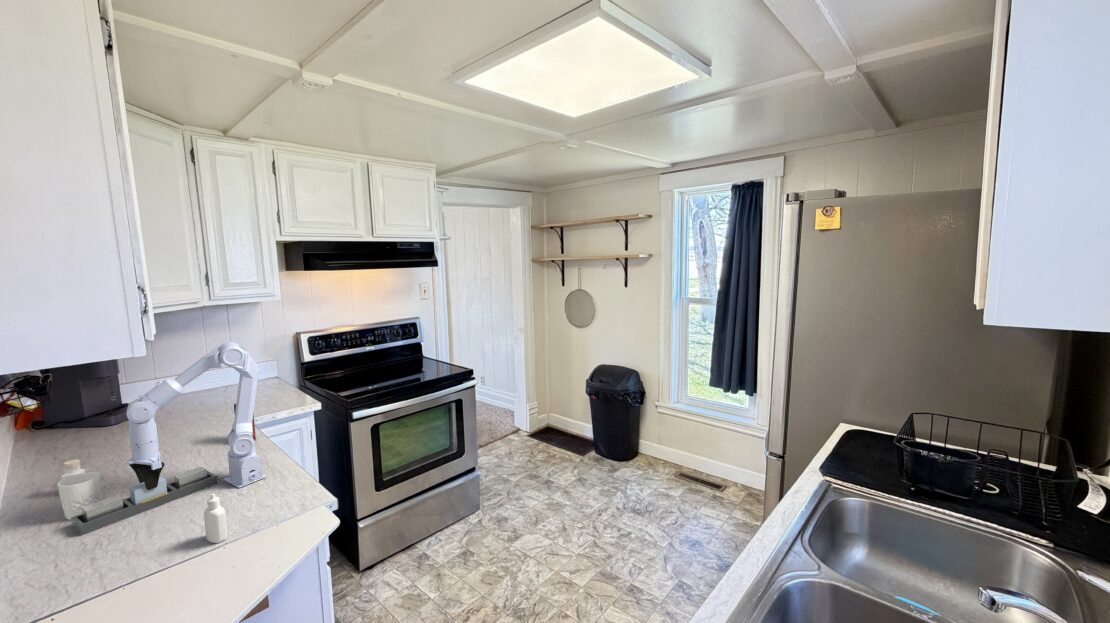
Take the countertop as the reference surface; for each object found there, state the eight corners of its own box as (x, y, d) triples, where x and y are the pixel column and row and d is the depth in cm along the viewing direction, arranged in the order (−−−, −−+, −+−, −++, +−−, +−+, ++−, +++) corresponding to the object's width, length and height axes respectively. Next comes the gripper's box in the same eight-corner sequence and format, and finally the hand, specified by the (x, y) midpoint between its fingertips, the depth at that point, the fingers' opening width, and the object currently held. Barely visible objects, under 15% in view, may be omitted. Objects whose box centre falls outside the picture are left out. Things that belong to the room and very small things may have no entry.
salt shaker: (71, 489, 135) (67, 459, 134) (88, 487, 137) (84, 457, 136) (62, 496, 132) (58, 465, 130) (80, 493, 133) (76, 463, 132)
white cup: (101, 501, 129) (97, 469, 128) (105, 511, 124) (100, 478, 123) (61, 513, 123) (56, 479, 122) (63, 524, 118) (58, 489, 117)
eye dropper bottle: (227, 529, 117) (223, 486, 115) (227, 540, 112) (223, 496, 111) (206, 535, 114) (202, 492, 113) (205, 547, 110) (201, 502, 108)
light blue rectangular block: (167, 494, 130) (165, 479, 130) (135, 505, 124) (134, 490, 124) (162, 490, 132) (160, 476, 131) (131, 501, 126) (129, 486, 125)
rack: (217, 483, 140) (216, 468, 139) (81, 535, 114) (78, 516, 113) (206, 477, 143) (205, 462, 143) (72, 526, 117) (69, 508, 117)
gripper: (115, 440, 126) (120, 485, 128) (136, 452, 119) (141, 500, 121) (147, 432, 132) (152, 475, 134) (168, 443, 125) (173, 488, 127)
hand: (149, 486), depth 128 cm, fingers closed on light blue rectangular block, 3 cm apart
